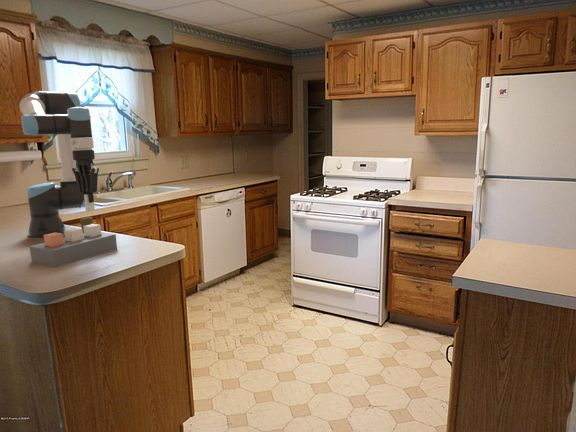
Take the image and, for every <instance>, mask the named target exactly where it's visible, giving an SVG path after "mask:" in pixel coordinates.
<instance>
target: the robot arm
mask: <svg viewBox="0 0 576 432" xmlns="http://www.w3.org/2000/svg"><path fill="white" fill-rule="evenodd" d="M18 107H19V110H20V113H21V114H22V115H21V116H20V118H21V119H20V120H21V128H22V133H23V134H24V135H26V136H47V135H51V136H53V135H57V141H58V149H59V157H60V163H61V164H60V165H61V172H62V178H60V180H59V184H56V182H54V181H52V182H44V183H39V184H34V185H31V186H29V187H28V188H27V190H26V193H27V194H26V195H27V197H26V198H27V201H28V208H29V214H30V220H29V221H30V222H29V225H28V230H27V231H28V236H29V237H32V238H41V237H43V238H44V235H46V234H50V233H62V234H63V233H64V234H65V232H64V230H66V226H65V225H64V222H63V220H62V218H61V216H60V212H59V210H71V209H81V208H85V211H86V212H93V211H95V203H94V202H95V199H94V197H95V196H94V194H95V193H97V192H98V179H99V178H98V177H99V171H100V169H99V168H100V167H96V166H95V164H94V161H93V160H95V157H96V156H95V151H94V148H95V147H94V139H93V133H92V123H91V122H92V120H91V119H92V118H91V113H90V109H89V108H87V107H82V104H81V101H80V98H79V95H78V94H77V93H76V92H74V91H59V90H58V91H57V90H56V91H52V90H47V91H46V90H37V91H33V92H30V93H28V94H26V95H24V96H22V98H20V101H19V105H18Z"/></svg>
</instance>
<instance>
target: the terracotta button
mask: <svg viewBox="0 0 576 432" xmlns="http://www.w3.org/2000/svg"><path fill="white" fill-rule="evenodd" d="M63 238H64V235H63V233H50V234H46V235H44V237H43V241H44V242H43V243H45V246H49V247H55V246H59V245H63V244H64V241H63Z"/></svg>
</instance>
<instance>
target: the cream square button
mask: <svg viewBox="0 0 576 432" xmlns="http://www.w3.org/2000/svg"><path fill="white" fill-rule="evenodd" d="M83 228H84V236H88V237H94V236H98V235H102V234H101V232H102V226H101V224H97V223H93V224H90V225H86V226H83Z"/></svg>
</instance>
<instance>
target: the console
mask: <svg viewBox="0 0 576 432" xmlns="http://www.w3.org/2000/svg"><path fill="white" fill-rule="evenodd" d="M101 234H102V235H98V236H94V237H88V236H84V233H83V239H82V240H78V241H75V242H70V241H66V240H65V237H63V241H64V244H63V245H59V246H55V247H49V246H45V242H41V243H38V244H34V245H33V244H32V245H30V246H29V253H30V258H31V263H33V264H39V265H43V266H48V267H52V268H59V267H61V266H64V265H67V264H71V263H75V262H79V261H81V260H85V259H87V258H91V257H95V256H98V255H102V254H105V253H107V252H111V251H115V250H117V249H118V245H117V244H118V243H117V236H116V235H117V234H116V233H110V232H102V231H101Z"/></svg>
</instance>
